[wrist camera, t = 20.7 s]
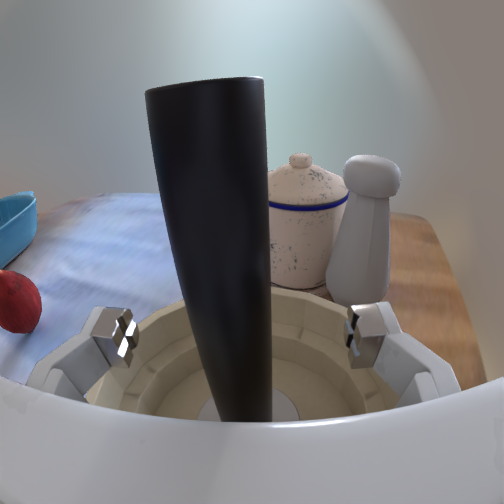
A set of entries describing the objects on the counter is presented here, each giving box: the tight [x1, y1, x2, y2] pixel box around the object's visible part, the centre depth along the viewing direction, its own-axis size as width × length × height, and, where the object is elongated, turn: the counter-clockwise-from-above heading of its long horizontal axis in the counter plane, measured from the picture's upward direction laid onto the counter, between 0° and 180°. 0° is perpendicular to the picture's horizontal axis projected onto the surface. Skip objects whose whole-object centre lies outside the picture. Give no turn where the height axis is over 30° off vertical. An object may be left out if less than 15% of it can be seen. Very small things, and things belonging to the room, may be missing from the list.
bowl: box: [85, 286, 400, 421], centre depth 14 cm, size 16×16×6 cm
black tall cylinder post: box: [145, 77, 300, 422], centre depth 10 cm, size 6×6×18 cm
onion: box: [0, 269, 42, 334], centre depth 21 cm, size 6×6×8 cm
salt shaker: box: [325, 155, 401, 308], centre depth 23 cm, size 6×6×13 cm
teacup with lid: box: [268, 153, 350, 289], centre depth 28 cm, size 12×9×12 cm
